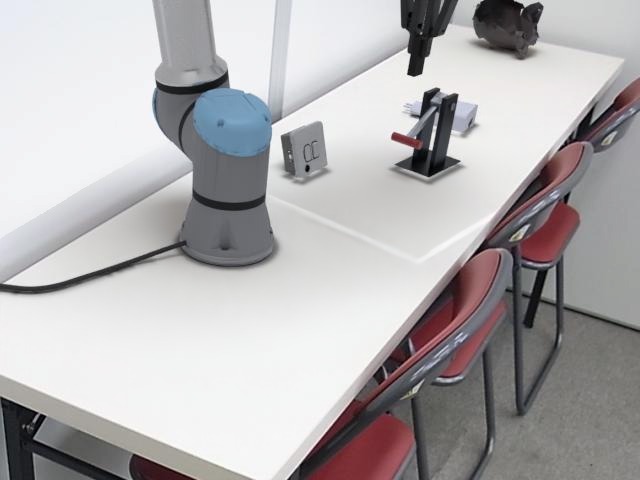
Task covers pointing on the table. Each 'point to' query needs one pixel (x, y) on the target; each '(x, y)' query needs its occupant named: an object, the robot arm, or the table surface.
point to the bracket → (436, 158)
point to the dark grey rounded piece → (507, 23)
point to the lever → (420, 124)
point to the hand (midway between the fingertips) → (414, 74)
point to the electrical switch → (304, 149)
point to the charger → (461, 119)
